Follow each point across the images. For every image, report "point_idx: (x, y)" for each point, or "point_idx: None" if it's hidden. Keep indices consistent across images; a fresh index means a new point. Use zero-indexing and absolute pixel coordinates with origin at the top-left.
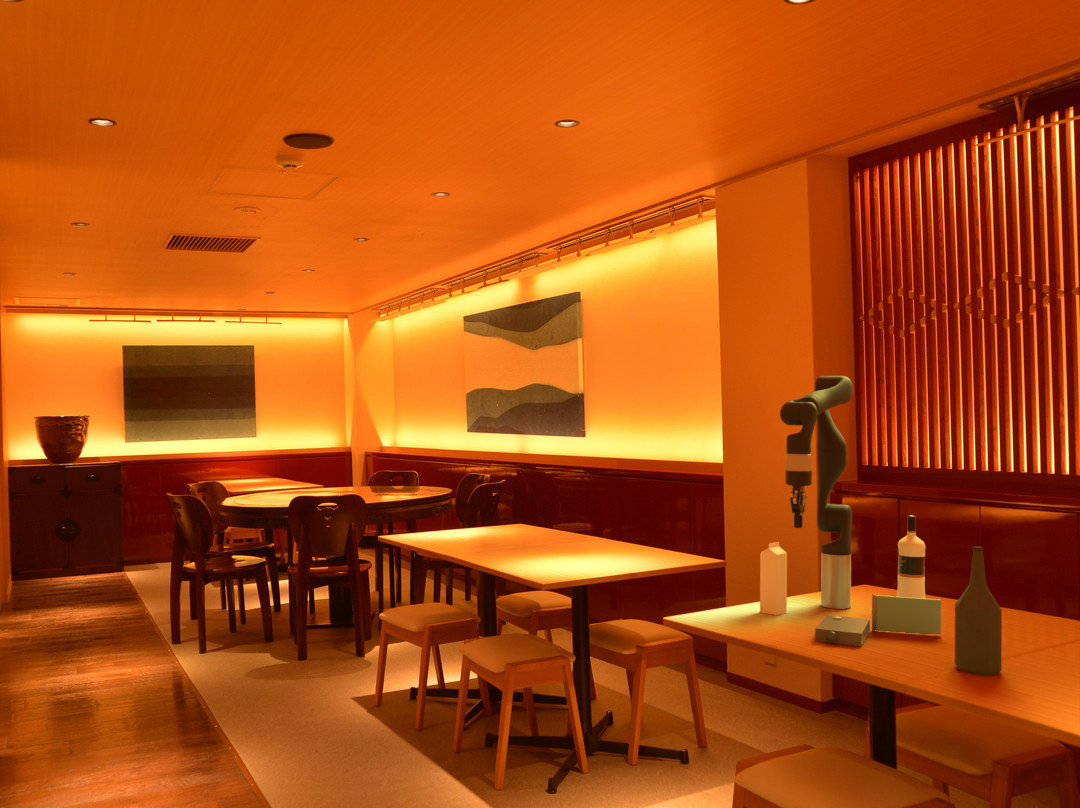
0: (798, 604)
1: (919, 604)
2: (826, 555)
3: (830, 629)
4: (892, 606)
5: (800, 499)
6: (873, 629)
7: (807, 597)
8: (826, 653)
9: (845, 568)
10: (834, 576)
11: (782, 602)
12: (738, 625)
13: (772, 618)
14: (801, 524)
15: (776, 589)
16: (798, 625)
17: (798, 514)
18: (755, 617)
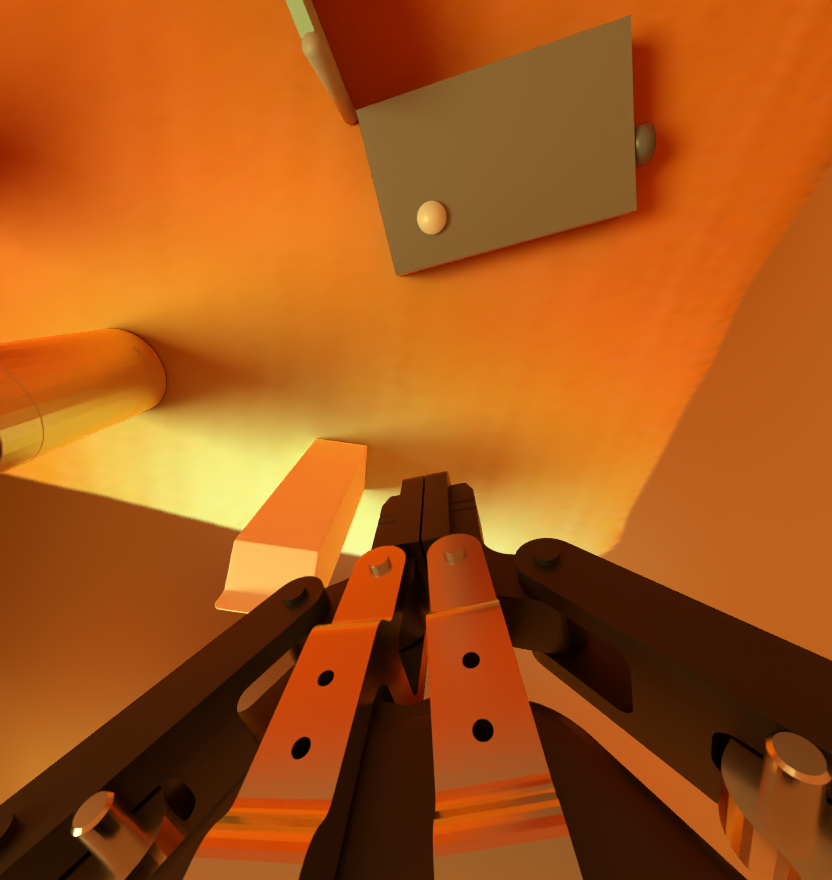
0: (194, 457)
1: None
2: (8, 444)
3: (623, 156)
4: None
5: (626, 789)
6: (355, 112)
7: (94, 475)
8: (770, 107)
9: (5, 355)
10: (76, 383)
11: (329, 453)
12: (548, 466)
13: (408, 437)
14: (448, 483)
15: (352, 478)
16: (441, 349)
17: (508, 564)
18: (428, 473)
